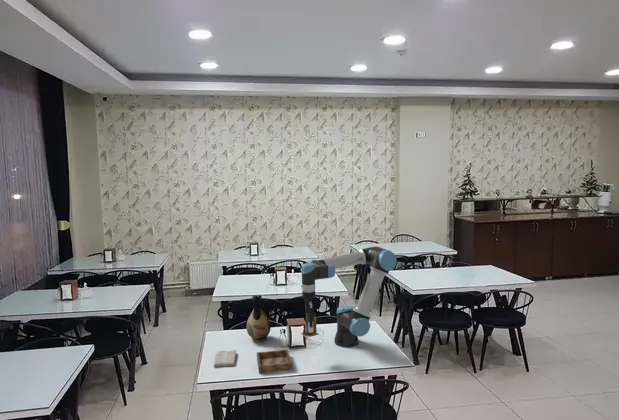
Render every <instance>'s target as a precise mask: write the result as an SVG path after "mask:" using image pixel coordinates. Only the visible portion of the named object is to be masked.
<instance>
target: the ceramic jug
mask: <svg viewBox="0 0 619 420" xmlns="http://www.w3.org/2000/svg"><path fill="white" fill-rule="evenodd" d="M262 297H263V296H262V295H260V294H259V295H256V294H255V295H252V297H251V302H252V307H253V310H252V312H251V313H250V314H249V317H248V319H247V322H246V332H247V334H248V336H250V337H251V339H252V341H253V342H256V343H258V342H264V341H267V339H268V336H269V335H270V332H271V329H272V327H271V321H270V319H269V317H268V316H267V314H266V313H265V312H264V310H263V309H262V308H261V306H260V300H261V299H262Z"/></svg>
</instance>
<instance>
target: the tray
mask: <svg viewBox="0 0 619 420" xmlns="http://www.w3.org/2000/svg"><path fill="white" fill-rule="evenodd" d="M256 362H257V368H258V374H266V373H267V374H268V373H277V372H285V371H293V363H292V360H291V356H290V353H289V350H288V349H278V350H269V351H267V350H266V351H258V352H256Z"/></svg>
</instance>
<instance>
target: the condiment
mask: <svg viewBox="0 0 619 420" xmlns="http://www.w3.org/2000/svg"><path fill="white" fill-rule="evenodd" d="M308 320H309V319H308V313H307V314H305V332H301V333H300V334H301V335H302V336H304V337H305V338H307V339H308V338H311V337H315V336H318V335H320V333H319V332H317V317H316V313H315V312H314V321H313V332H311V333H309V332H308V322H307V321H308Z"/></svg>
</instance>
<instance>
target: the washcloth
mask: <svg viewBox="0 0 619 420" xmlns="http://www.w3.org/2000/svg"><path fill="white" fill-rule="evenodd" d="M236 356H237V350H236V349H232V350H218V351H217V352H216V354H215V357H214V361H213V367H214V368H221V367H234V366H235V365H236Z"/></svg>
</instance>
